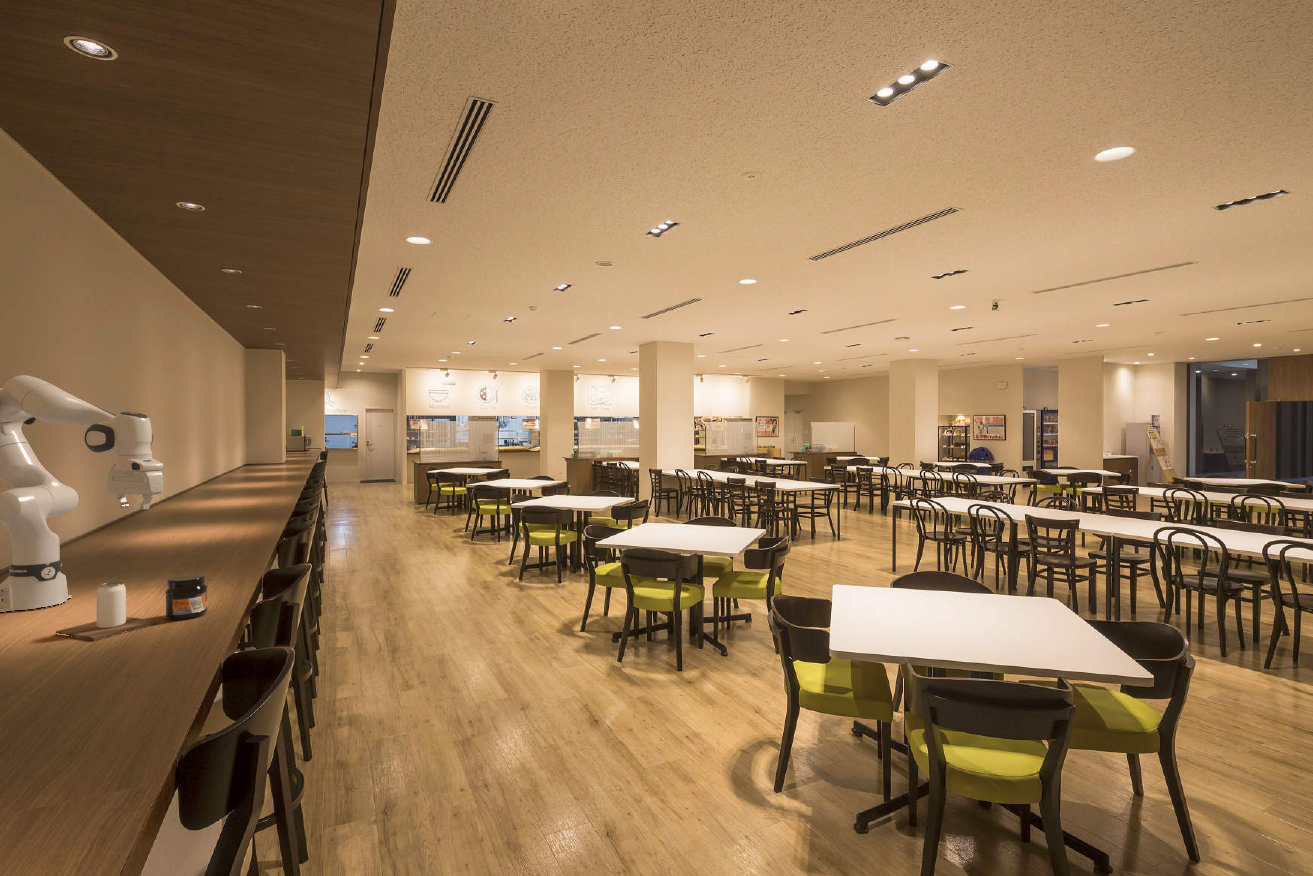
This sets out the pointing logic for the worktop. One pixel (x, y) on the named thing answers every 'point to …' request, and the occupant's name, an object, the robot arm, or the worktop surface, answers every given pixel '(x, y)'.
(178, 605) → the supplement container
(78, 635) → the walnut board
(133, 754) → the worktop surface
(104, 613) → the can
